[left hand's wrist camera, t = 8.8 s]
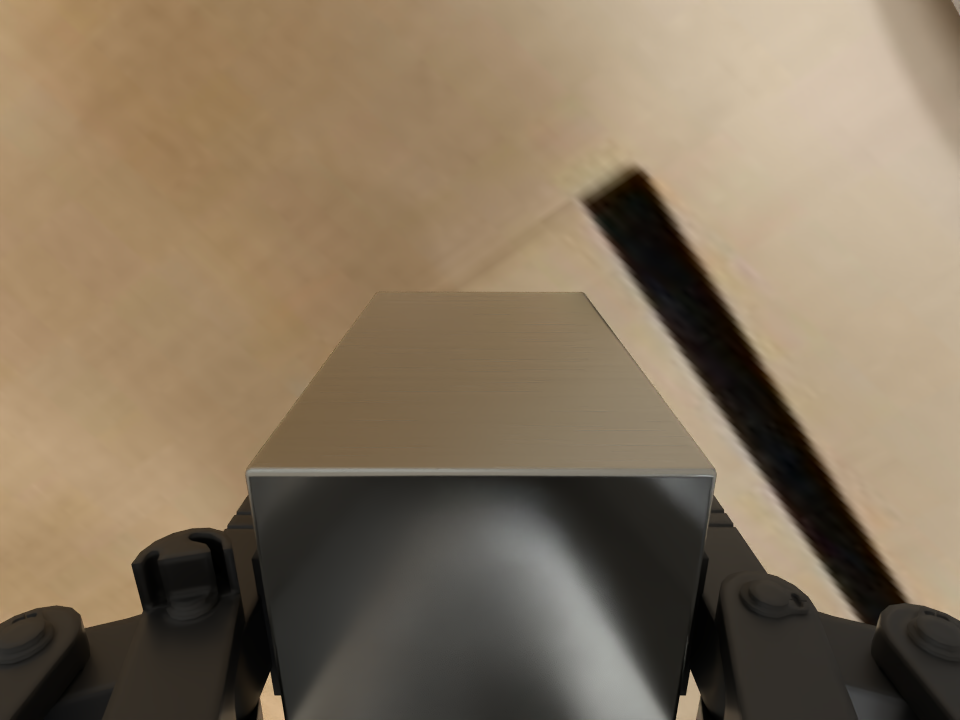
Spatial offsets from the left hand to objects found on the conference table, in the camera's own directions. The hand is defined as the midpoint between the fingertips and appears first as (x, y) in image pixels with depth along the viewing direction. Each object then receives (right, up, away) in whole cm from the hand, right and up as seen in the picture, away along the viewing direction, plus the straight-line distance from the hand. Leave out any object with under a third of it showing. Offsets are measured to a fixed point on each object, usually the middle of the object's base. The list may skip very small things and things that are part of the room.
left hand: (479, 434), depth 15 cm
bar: (0, -6, +3) cm, 7 cm away
